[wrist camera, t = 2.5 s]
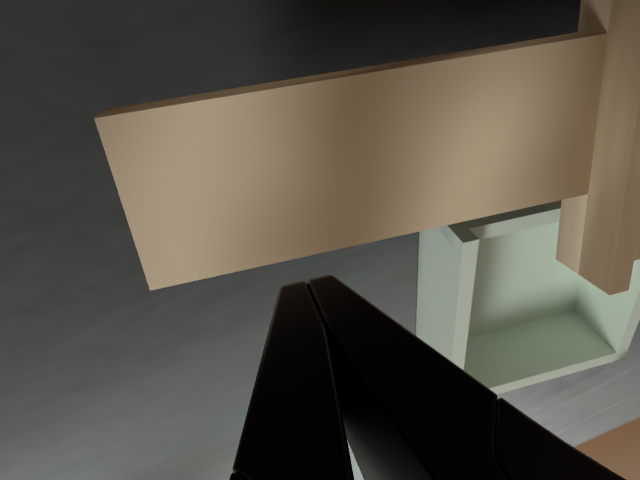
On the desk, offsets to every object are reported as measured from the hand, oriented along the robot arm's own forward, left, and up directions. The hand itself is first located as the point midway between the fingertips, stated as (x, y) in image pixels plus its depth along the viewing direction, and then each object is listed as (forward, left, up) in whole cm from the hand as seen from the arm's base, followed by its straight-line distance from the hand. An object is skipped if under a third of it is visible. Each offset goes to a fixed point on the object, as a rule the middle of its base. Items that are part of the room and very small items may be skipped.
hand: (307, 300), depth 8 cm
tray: (-11, +9, -10) cm, 17 cm away
